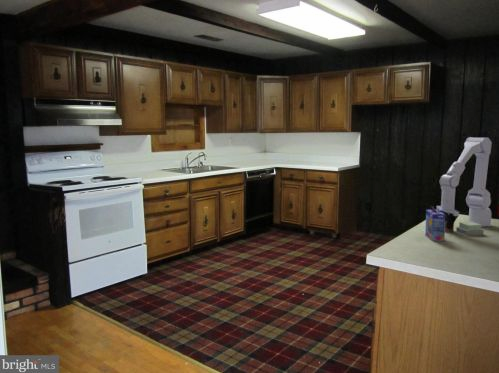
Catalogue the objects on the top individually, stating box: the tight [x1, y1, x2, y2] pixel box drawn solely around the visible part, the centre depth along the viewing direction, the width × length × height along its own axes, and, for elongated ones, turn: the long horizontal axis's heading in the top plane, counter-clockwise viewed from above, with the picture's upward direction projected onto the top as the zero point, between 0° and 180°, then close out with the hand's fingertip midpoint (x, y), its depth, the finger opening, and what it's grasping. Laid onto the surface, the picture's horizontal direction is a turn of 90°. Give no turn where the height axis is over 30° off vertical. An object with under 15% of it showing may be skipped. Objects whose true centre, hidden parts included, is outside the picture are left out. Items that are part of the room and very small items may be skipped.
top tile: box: [458, 221, 483, 231], centre depth 191 cm, size 6×6×2 cm
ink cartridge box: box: [425, 205, 446, 242], centre depth 182 cm, size 10×6×14 cm, turn 174°
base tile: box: [455, 226, 485, 237], centre depth 191 cm, size 8×8×2 cm
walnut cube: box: [445, 220, 455, 233], centre depth 196 cm, size 4×4×4 cm
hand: (446, 227), depth 196 cm, fingers closed on walnut cube, 4 cm apart
